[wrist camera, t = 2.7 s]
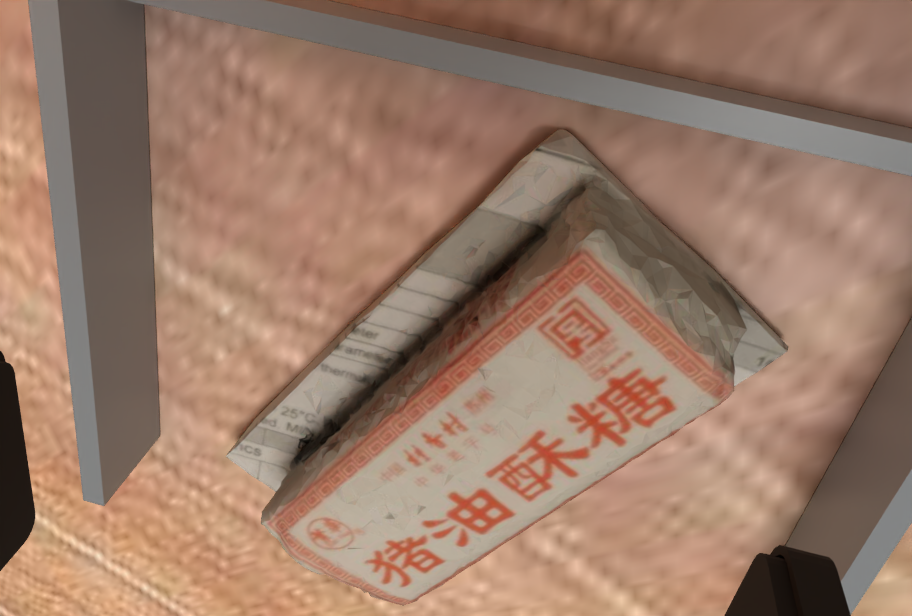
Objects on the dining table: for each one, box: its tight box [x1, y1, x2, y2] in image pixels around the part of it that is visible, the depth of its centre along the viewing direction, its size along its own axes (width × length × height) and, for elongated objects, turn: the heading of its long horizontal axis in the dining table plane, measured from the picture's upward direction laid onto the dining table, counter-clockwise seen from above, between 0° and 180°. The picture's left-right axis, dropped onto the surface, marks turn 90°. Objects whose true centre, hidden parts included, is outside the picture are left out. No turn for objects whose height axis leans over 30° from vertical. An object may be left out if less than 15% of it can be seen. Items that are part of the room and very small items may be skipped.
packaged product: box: [226, 130, 788, 605], centre depth 27 cm, size 18×5×10 cm
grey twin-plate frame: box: [28, 0, 912, 615], centre depth 25 cm, size 18×26×4 cm
